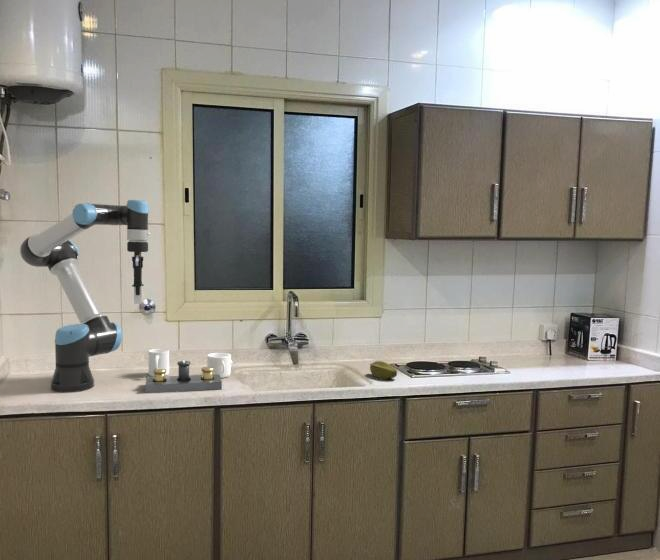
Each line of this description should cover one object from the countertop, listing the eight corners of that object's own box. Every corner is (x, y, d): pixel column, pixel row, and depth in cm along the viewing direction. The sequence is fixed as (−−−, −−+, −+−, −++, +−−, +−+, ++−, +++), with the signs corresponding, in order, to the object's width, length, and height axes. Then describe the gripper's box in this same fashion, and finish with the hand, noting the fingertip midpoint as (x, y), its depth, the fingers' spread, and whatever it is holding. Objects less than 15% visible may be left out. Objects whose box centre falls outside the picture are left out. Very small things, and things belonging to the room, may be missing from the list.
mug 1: (165, 379, 242) (165, 354, 241) (144, 379, 241) (144, 354, 241) (170, 372, 254) (170, 348, 253) (150, 372, 253) (150, 348, 252)
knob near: (152, 389, 226) (152, 371, 225) (153, 386, 230) (153, 368, 230) (166, 388, 227) (166, 371, 226) (166, 385, 232) (166, 368, 231)
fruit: (369, 380, 249) (370, 364, 248) (369, 373, 260) (370, 358, 260) (397, 381, 248) (397, 365, 247) (395, 374, 260) (396, 359, 259)
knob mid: (177, 381, 228) (177, 362, 227) (177, 378, 233) (177, 360, 232) (190, 380, 229) (190, 362, 229) (190, 377, 234) (190, 359, 233)
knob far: (201, 387, 230) (201, 369, 230) (200, 384, 235) (201, 367, 234) (214, 386, 232) (214, 369, 231) (213, 383, 236) (213, 366, 236)
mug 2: (236, 379, 245) (237, 357, 245) (212, 381, 241) (212, 359, 240) (228, 372, 256) (228, 351, 255) (204, 374, 251) (204, 353, 251)
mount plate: (145, 392, 222) (145, 384, 221) (146, 384, 233) (146, 377, 233) (221, 389, 229) (221, 381, 229) (219, 381, 240) (219, 374, 240)
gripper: (147, 241, 220) (147, 305, 222) (148, 241, 232) (148, 301, 234) (125, 241, 218) (126, 305, 220) (128, 240, 230) (128, 301, 232)
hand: (137, 303), depth 227 cm, fingers closed
